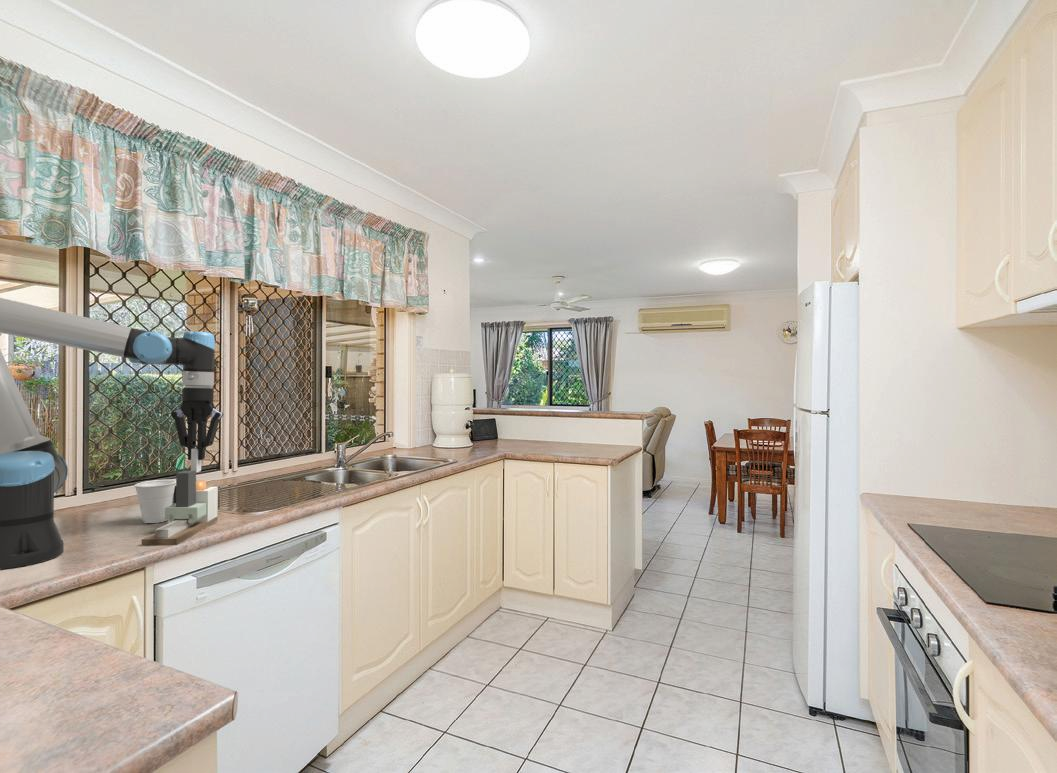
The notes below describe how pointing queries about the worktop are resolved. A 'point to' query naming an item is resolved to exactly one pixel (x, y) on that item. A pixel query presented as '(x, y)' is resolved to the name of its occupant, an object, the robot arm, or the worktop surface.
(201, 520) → the cabinet
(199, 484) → the button
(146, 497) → the cup
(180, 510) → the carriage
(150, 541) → the track
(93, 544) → the worktop surface
